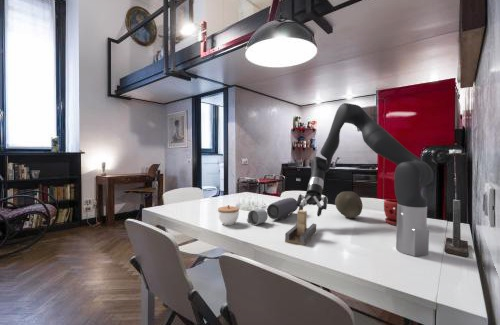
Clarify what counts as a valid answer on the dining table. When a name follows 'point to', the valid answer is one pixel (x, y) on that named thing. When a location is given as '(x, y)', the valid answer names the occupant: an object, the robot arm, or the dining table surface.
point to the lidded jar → (228, 214)
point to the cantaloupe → (348, 204)
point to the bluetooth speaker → (282, 208)
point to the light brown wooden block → (301, 221)
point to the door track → (300, 239)
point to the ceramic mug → (257, 216)
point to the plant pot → (390, 211)
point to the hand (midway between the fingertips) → (309, 214)
